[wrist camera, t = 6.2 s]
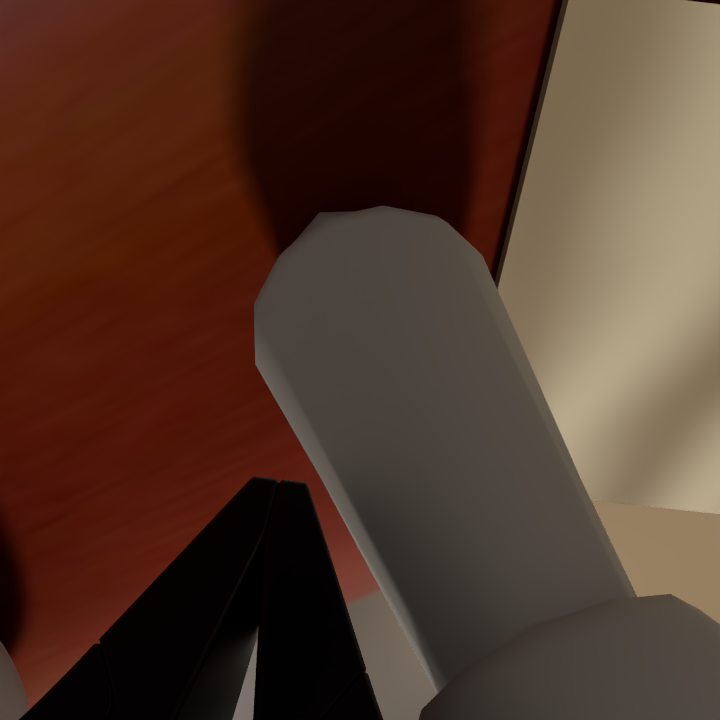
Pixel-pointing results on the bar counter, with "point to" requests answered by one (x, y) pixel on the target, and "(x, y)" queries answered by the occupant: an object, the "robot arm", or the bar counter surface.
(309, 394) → the salt shaker
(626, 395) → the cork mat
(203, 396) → the bar counter surface
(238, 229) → the bar counter surface
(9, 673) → the serving bowl
